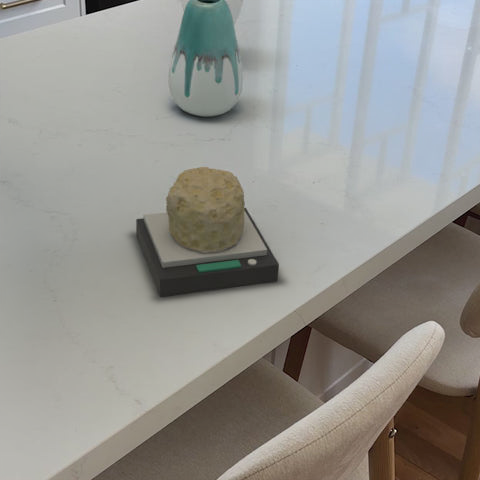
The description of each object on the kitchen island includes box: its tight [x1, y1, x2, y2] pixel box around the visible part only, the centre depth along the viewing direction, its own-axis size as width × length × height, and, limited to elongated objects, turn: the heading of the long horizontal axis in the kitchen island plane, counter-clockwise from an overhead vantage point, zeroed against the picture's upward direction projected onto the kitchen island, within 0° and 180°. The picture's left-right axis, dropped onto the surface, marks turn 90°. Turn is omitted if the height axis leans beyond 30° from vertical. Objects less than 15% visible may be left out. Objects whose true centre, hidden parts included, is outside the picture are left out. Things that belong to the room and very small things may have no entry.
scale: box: [135, 207, 280, 298], centre depth 105 cm, size 14×13×3 cm
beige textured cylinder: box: [165, 166, 246, 254], centre depth 104 cm, size 9×10×10 cm
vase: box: [167, 0, 244, 117], centre depth 136 cm, size 12×12×18 cm
